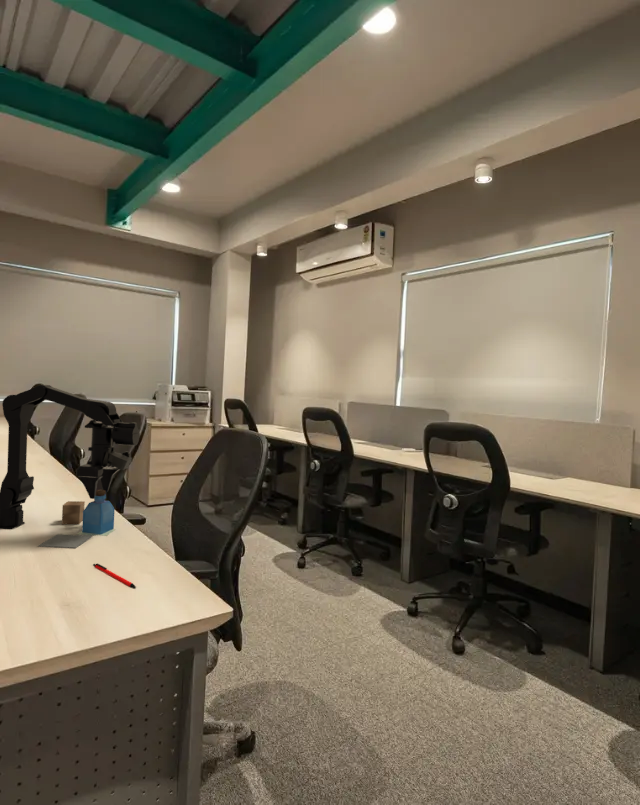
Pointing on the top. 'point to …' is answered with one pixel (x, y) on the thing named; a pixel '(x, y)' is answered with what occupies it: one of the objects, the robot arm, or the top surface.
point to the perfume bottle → (98, 515)
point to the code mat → (96, 534)
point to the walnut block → (73, 512)
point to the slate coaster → (65, 541)
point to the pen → (114, 575)
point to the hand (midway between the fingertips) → (99, 495)
